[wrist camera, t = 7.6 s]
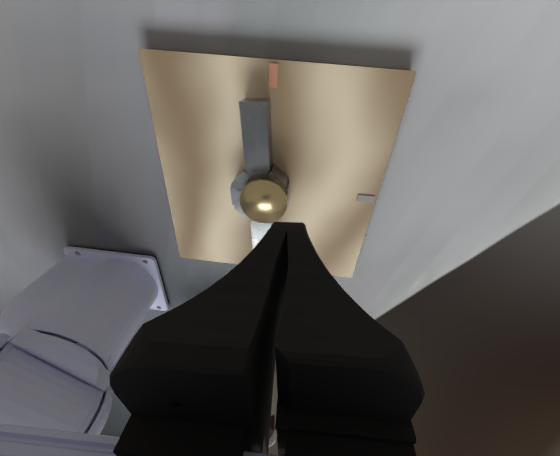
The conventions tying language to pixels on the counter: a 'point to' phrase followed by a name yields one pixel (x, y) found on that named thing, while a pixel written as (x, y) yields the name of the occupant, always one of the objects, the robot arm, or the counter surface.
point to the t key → (257, 157)
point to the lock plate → (273, 148)
